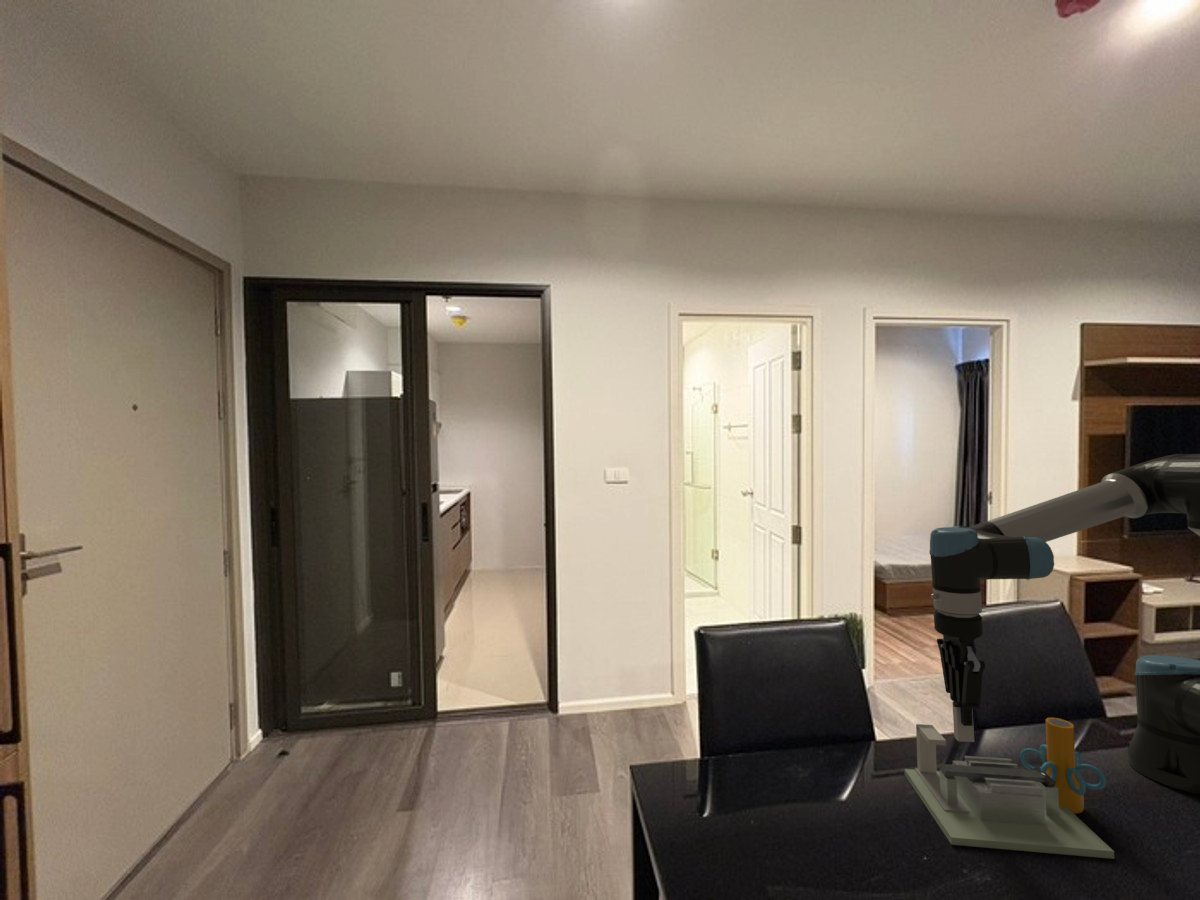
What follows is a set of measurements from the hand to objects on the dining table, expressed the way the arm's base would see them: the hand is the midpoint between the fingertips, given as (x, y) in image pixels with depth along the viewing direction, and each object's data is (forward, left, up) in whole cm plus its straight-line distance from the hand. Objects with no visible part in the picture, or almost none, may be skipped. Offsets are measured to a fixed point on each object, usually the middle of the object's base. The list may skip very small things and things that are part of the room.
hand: (964, 739), depth 99 cm
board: (-5, 0, -13) cm, 14 cm away
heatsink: (-5, 0, -12) cm, 13 cm away
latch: (+3, -7, -11) cm, 14 cm away
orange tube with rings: (-18, -4, -13) cm, 22 cm away
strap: (-5, 0, -6) cm, 8 cm away
